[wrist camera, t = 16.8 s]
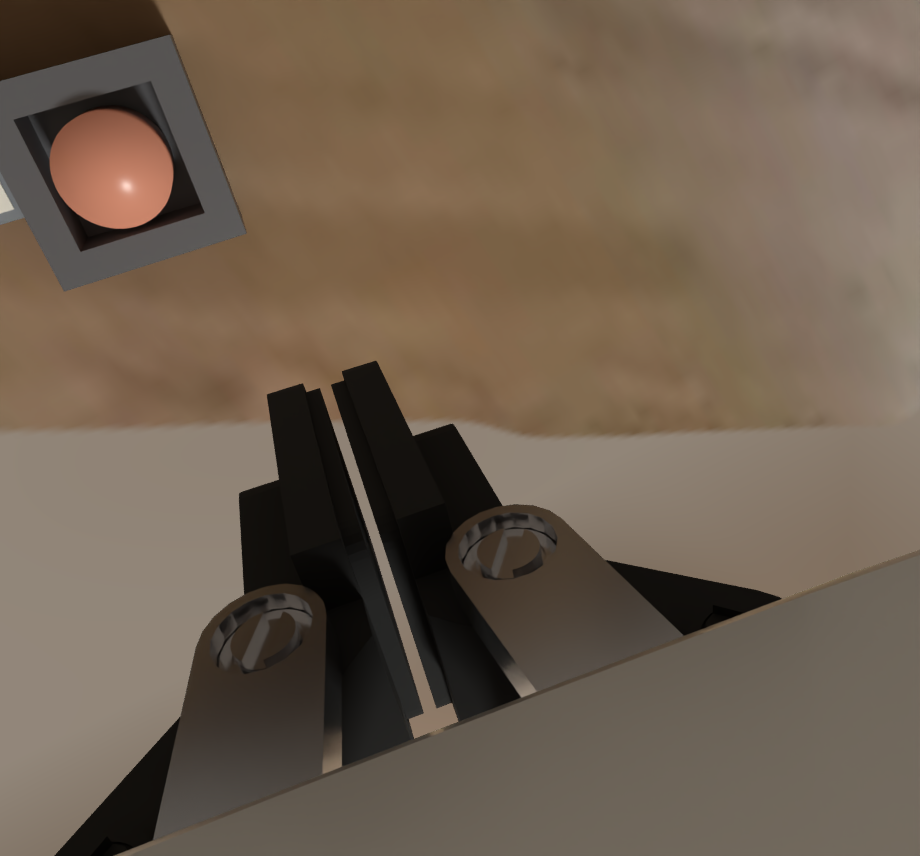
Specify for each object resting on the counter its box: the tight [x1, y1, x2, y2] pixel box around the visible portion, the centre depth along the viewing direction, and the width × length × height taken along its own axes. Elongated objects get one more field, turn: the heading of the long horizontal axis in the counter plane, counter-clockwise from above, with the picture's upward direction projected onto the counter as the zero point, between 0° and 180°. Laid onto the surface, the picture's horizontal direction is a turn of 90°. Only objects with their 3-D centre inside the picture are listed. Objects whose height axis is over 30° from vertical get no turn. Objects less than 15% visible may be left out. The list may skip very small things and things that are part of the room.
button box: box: [0, 35, 247, 291], centre depth 29 cm, size 7×7×4 cm
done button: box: [50, 105, 174, 229], centre depth 28 cm, size 4×4×3 cm
